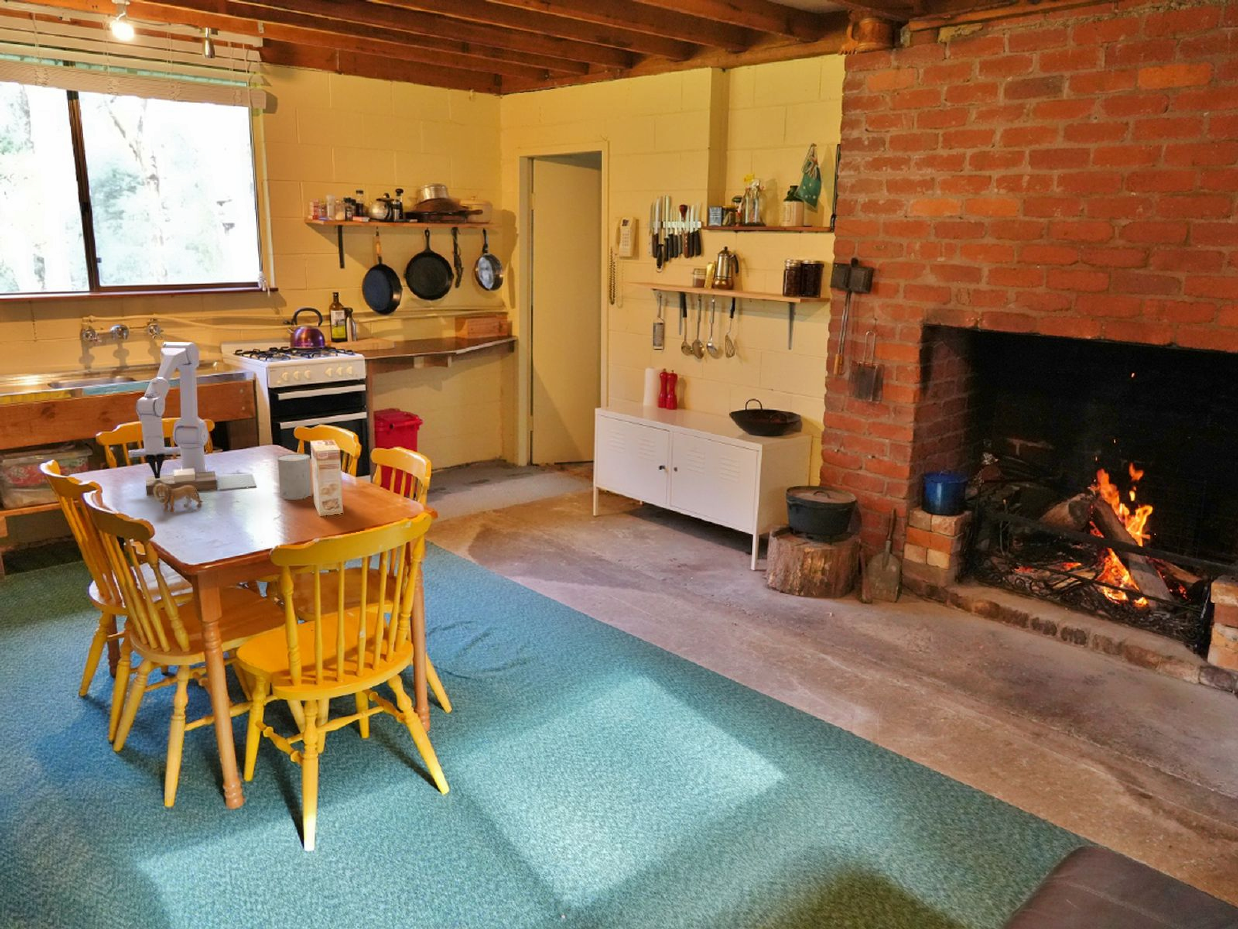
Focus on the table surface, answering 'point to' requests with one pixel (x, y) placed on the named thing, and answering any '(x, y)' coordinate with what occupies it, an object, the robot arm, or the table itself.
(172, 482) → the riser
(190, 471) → the tile
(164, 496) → the lion figurine
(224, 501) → the table surface
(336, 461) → the coffeecake box
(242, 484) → the mat
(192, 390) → the robot arm
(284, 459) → the grey cylinder
